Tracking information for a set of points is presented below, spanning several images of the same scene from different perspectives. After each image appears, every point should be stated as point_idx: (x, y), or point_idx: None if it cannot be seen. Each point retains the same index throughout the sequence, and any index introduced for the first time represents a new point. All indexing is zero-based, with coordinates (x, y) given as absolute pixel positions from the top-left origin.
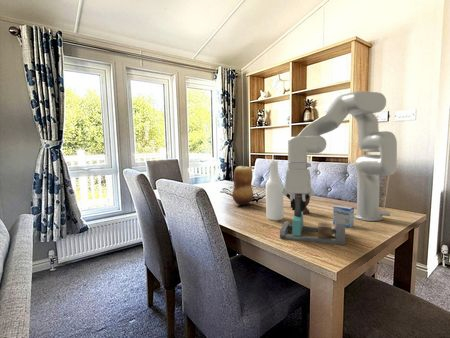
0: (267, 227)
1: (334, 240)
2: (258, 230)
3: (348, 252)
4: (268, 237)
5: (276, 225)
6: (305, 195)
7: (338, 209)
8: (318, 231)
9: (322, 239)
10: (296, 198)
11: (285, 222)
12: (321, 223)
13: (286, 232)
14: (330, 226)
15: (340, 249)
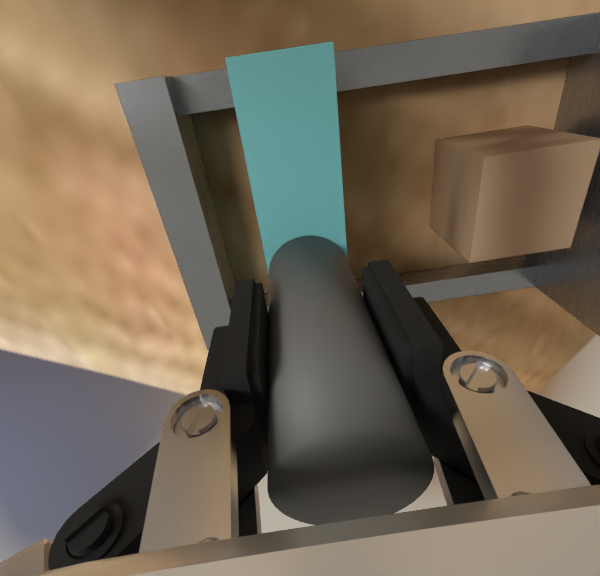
0: (4, 154)
1: (525, 287)
2: (3, 254)
3: (551, 337)
4: (148, 333)
5: (30, 50)
6: (552, 463)
7: None
8: (453, 244)
9: (459, 295)
10: (332, 510)
11: (146, 136)
12: (510, 170)
13: (225, 264)
14: (570, 224)
15: (525, 322)
